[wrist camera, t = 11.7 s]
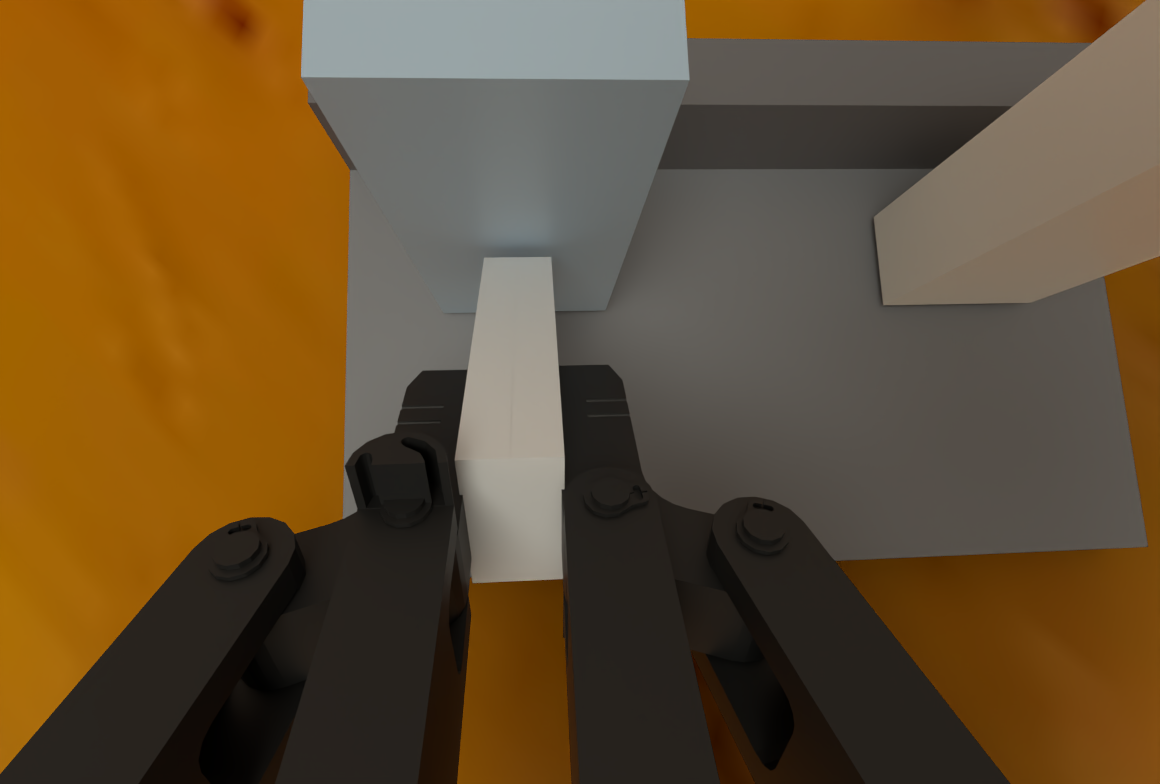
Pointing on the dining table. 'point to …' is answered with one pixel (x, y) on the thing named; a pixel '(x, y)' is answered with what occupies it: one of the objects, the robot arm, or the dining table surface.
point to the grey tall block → (503, 127)
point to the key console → (811, 317)
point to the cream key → (1040, 186)
